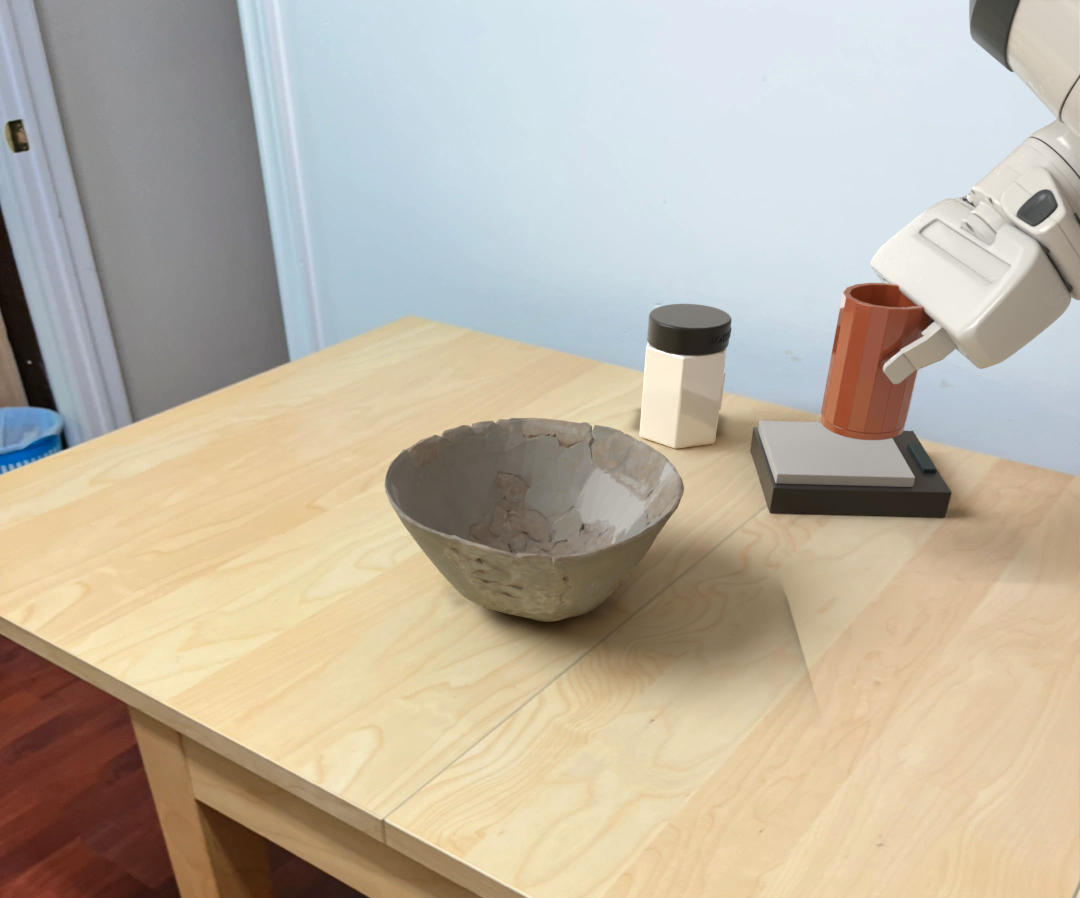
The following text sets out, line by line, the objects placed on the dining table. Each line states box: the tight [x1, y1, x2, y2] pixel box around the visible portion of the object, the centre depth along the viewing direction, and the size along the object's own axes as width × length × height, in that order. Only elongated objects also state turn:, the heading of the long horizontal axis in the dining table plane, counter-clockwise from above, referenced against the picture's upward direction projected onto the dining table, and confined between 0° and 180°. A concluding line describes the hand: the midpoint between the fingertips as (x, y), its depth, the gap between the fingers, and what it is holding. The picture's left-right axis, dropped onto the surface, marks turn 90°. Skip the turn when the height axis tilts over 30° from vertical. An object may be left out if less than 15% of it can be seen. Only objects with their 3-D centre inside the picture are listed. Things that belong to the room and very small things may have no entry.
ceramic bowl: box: [384, 417, 685, 623], centre depth 81 cm, size 22×23×10 cm
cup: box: [819, 282, 931, 440], centre depth 81 cm, size 7×7×10 cm
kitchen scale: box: [749, 420, 953, 518], centre depth 99 cm, size 16×14×4 cm
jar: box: [638, 303, 732, 450], centre depth 106 cm, size 9×8×12 cm
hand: (868, 357), depth 80 cm, fingers closed on cup, 7 cm apart
